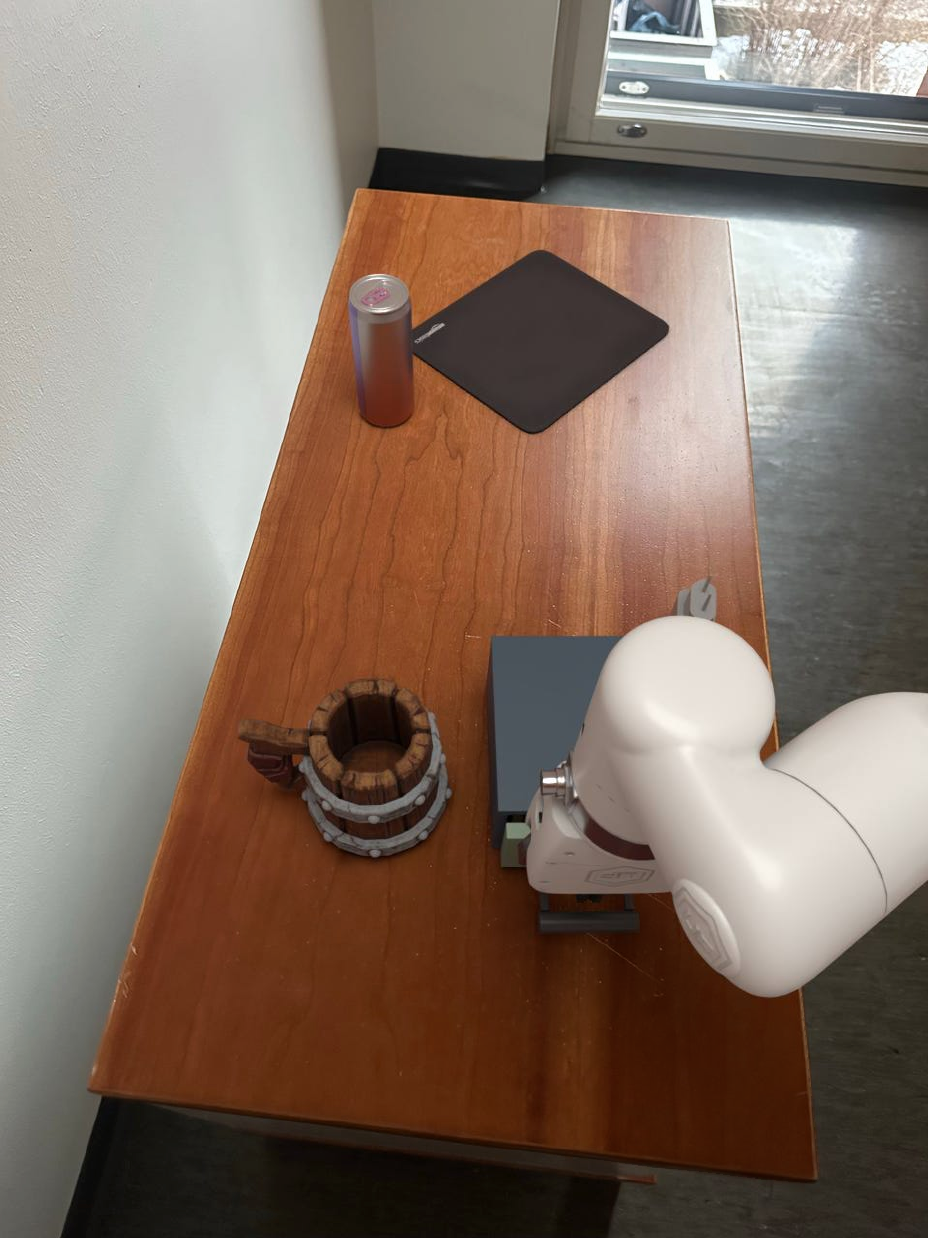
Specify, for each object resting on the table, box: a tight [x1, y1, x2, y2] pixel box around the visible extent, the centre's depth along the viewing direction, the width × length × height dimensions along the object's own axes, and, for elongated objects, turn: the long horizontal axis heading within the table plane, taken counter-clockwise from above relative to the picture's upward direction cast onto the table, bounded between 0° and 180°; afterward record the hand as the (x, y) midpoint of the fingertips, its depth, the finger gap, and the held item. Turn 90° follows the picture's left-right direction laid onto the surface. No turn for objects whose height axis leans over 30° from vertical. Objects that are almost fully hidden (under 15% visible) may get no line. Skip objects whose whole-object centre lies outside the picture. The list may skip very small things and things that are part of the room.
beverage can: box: [347, 273, 415, 428], centre depth 90 cm, size 6×6×15 cm
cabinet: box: [485, 635, 625, 850], centre depth 71 cm, size 15×13×9 cm
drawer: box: [499, 815, 641, 935], centre depth 68 cm, size 19×11×7 cm, turn 1°
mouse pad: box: [412, 249, 670, 434], centre depth 103 cm, size 25×21×1 cm
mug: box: [237, 677, 453, 858], centre depth 67 cm, size 12×14×15 cm
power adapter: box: [669, 573, 717, 623], centre depth 75 cm, size 3×5×12 cm, turn 171°
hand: (585, 881), depth 63 cm, fingers closed
